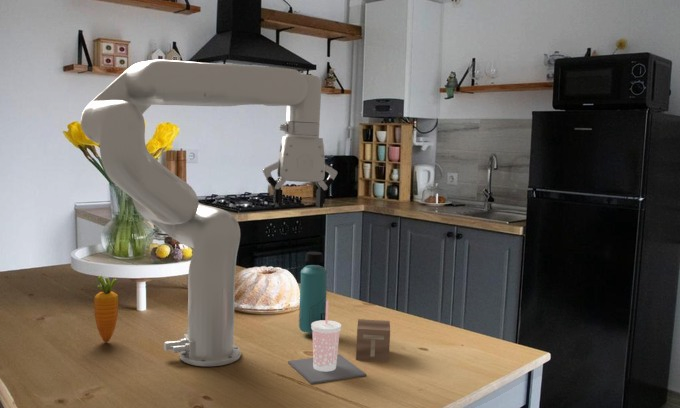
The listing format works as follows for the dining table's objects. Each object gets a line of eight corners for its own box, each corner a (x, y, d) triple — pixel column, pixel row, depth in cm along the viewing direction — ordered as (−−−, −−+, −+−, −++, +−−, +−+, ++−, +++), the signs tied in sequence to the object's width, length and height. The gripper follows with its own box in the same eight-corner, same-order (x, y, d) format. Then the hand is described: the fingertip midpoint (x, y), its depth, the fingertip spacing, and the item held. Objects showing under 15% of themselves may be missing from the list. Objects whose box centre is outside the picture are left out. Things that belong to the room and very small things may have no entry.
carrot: (123, 341, 142) (123, 275, 140) (106, 348, 137) (106, 279, 136) (106, 337, 144) (106, 272, 142) (89, 344, 139) (89, 276, 138)
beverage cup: (325, 359, 135) (327, 294, 133) (345, 368, 130) (348, 301, 129) (303, 366, 130) (305, 299, 129) (324, 375, 126) (326, 306, 124)
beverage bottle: (322, 340, 148) (325, 255, 146) (294, 337, 149) (297, 253, 147) (328, 332, 154) (331, 251, 152) (301, 329, 156) (304, 248, 153)
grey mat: (311, 384, 122) (311, 382, 122) (288, 362, 133) (288, 361, 133) (366, 375, 128) (366, 373, 128) (339, 356, 138) (339, 354, 138)
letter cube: (388, 362, 136) (390, 330, 135) (355, 360, 136) (357, 328, 136) (387, 351, 143) (389, 320, 142) (356, 349, 143) (358, 319, 143)
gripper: (268, 129, 137) (265, 208, 138) (344, 133, 143) (340, 209, 144) (260, 128, 144) (257, 204, 145) (333, 132, 150) (329, 205, 151)
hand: (299, 206), depth 145 cm, fingers open, 9 cm apart
